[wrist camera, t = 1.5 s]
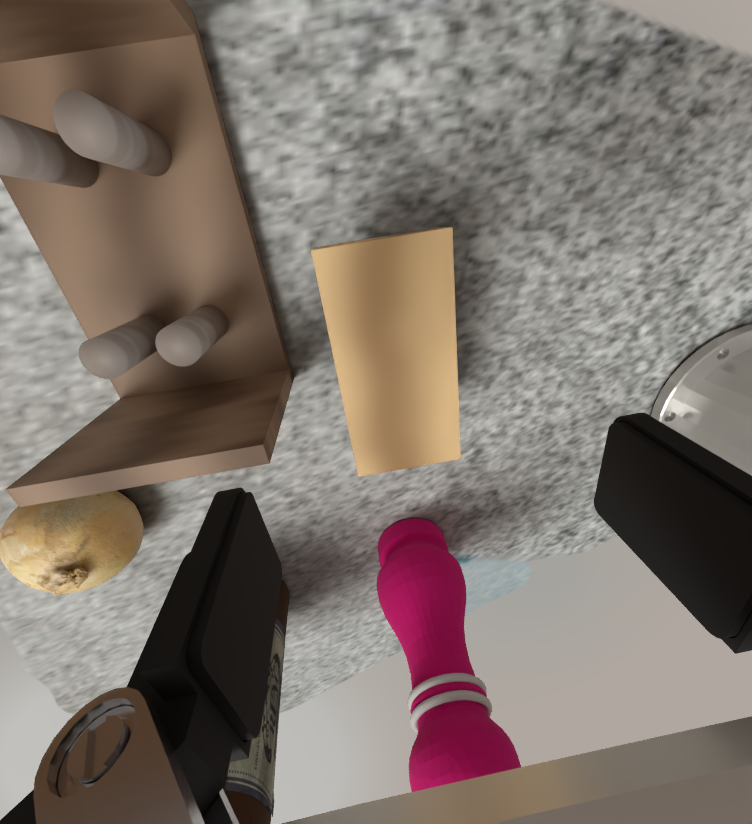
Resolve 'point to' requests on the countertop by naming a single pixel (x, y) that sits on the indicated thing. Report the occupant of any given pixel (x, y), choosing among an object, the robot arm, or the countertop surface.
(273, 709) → the olive oil
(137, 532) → the onion
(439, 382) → the oak board
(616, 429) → the robot arm
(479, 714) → the pepper mill
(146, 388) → the shelf cradle
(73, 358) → the countertop surface
